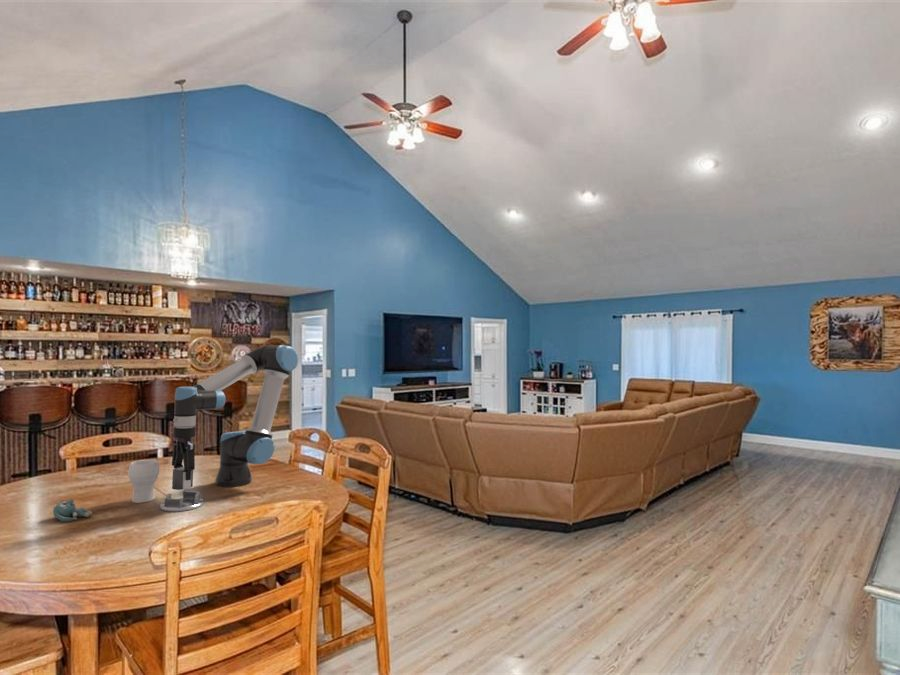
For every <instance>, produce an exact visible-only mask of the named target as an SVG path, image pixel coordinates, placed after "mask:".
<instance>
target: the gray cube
mask: <svg viewBox="0 0 900 675" xmlns="http://www.w3.org/2000/svg"><path fill="white" fill-rule="evenodd" d="M183 471H184V466H183V467H178V468H173V469H172V480H171V481H172V483H171V485H172V486H171V489H172V490H174V491H175V490H177V491H179V490H181V491H183V490H184V489H183ZM193 482H194V470H192V471H191V488H188V489H187V490H189V489H192V488H193V486H194V485H193Z"/></svg>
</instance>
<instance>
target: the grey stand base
mask: <svg viewBox="0 0 900 675" xmlns="http://www.w3.org/2000/svg"><path fill="white" fill-rule="evenodd" d="M204 504H205V500H204V499H203V498H201V491H196V490H195V491H194V490H193V491H191V490H184V491H183V490H182V497H179V498H172V494H171V493H168V494H166V495H165V497H164V502H163V503H160V505H159V508H160V511H162V512H168V513H169V512H170V513H179V512H187V511H192V510H196V509H199V508H201V507H202V506H204Z"/></svg>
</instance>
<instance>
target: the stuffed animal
mask: <svg viewBox="0 0 900 675" xmlns="http://www.w3.org/2000/svg"><path fill="white" fill-rule="evenodd" d="M52 514H53V517H54V518H55V519H57V520H59V521H60V522H64V523H68V522H72V521H73V522H74V521H77V519H78V517H79V518H80V517H87V518H88V517H89V516H91V515H92V514H93V512H92V511H91V510H86V508H83V507H76V503H75V502H74V499H71V498H70V499H68V500H67V501H62V502H60V503H57V504H56V505H55V506H54V508H53V513H52Z"/></svg>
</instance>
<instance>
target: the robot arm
mask: <svg viewBox="0 0 900 675" xmlns="http://www.w3.org/2000/svg"><path fill="white" fill-rule="evenodd" d="M240 358H241V359H240V360H239V359H238V361H236V362H234V363H232V364H231V365H229V366H227V367H226V368H224V369H221V370H219V371H218V372H216V373H214V374H213V375H211V376H209V377H208V378H205V379H204V380H201V382H199V383H196V384H195V385H193V386H178V387H177V388H175V391H174V412H173V413H174V418H173V420H172V422H173V426H174V427H173V431H172V432H173V434H172V436H173V438H175V440H173V441H172V445H173V446H172V447H173V448H172V460H171V466H173V469H175V468H178V467H184V471H183V490H189V489H192V488H191V471H192V470H193V471H195V468H196V466H195V464H196V463H195V457H196V456H195V455H196V454H195V449H196V443H192V438H194V437H195V436H196V423H197V411H202V410H203V411H204V410H205V411H206V410H217V409H222V408H223V407H224V406H225V404H226V395H225V393H224V391H223V390H225V389H226V388H229V387H230V386H231V385H233V384H234V383H236V382H238V381H240V380H241V379H243V378H245V377H246V376H248V375H250V374H251V375H252V374H256V373H258V372H260V371H262V372H263V373H264V380H263V382H262V383H263V384H262V387H261V389H260V393H259V396H258V401H257V403H256V407H255V411H254V414H253V417H252V421H251V424H250V427H248V428H246V429H245V430H238V431H237V430H235V431H228V432H224V433H222V434H221V436H220V441H219V443H220V447H219V448H220V455H219V456H220V457H219V469H218V472H217V474H216V477H215V482H214V484H215V485H216V486H217V487H218V486H219V487H223V488H224V487H225V488H226V487H227V488H229V487H239V486H244V485H247V484H250V483H251V482H252V477H253V476H252V473H251V471H250V467H249V464H252V465H262V464H265V463H266V462H268V461H270V459H271V458H272V457H273V455H274V452H275V449H276V448H275V444H274V440H273V437H274V436H273V433H272V426H273V424H274V423H273V422H274V419H275V416H276V411H277V408H278V404H279V401H280V397H281V393H282V390H283V385H284V382H285V380H286V379H288V378H289V377H290V374H291V371H293V370H295V369H296V368H297V367H298V364H299V357H298V354H297V351H296V349H295V348H294V347H292V346H290V345H284V344H280V345H273V344H270V345H269V344H268V345H266V344H265V345H262V346H259V347H258V348H255V349H253V350H251V351H249V352H247V353H245V354H243V355H242V356H241V357H240ZM188 488H189V489H188Z"/></svg>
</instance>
